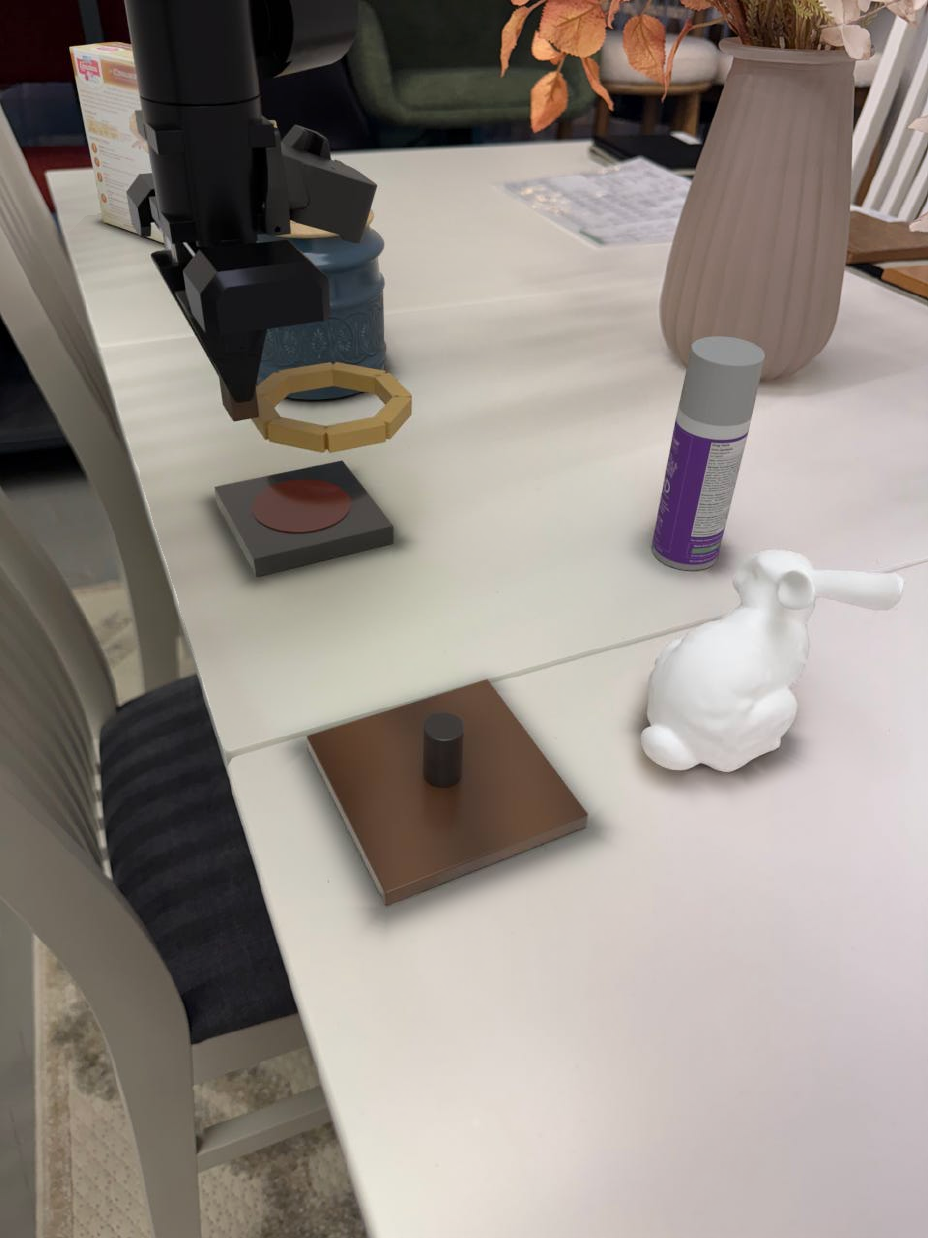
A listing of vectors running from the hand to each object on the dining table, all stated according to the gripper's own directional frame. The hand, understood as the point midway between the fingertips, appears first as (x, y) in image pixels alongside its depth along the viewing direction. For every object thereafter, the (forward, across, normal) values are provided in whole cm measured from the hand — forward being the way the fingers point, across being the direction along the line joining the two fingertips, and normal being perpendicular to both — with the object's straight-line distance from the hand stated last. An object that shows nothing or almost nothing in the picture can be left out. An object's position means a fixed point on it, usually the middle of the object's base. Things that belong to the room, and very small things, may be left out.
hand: (237, 391), depth 56 cm
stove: (+13, +4, -4) cm, 14 cm away
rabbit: (+13, -25, -20) cm, 35 cm away
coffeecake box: (+13, +75, -10) cm, 77 cm away
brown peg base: (+13, -22, -3) cm, 26 cm away
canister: (+13, +28, -14) cm, 34 cm away
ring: (+2, 0, -6) cm, 6 cm away
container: (+13, -10, -28) cm, 33 cm away
